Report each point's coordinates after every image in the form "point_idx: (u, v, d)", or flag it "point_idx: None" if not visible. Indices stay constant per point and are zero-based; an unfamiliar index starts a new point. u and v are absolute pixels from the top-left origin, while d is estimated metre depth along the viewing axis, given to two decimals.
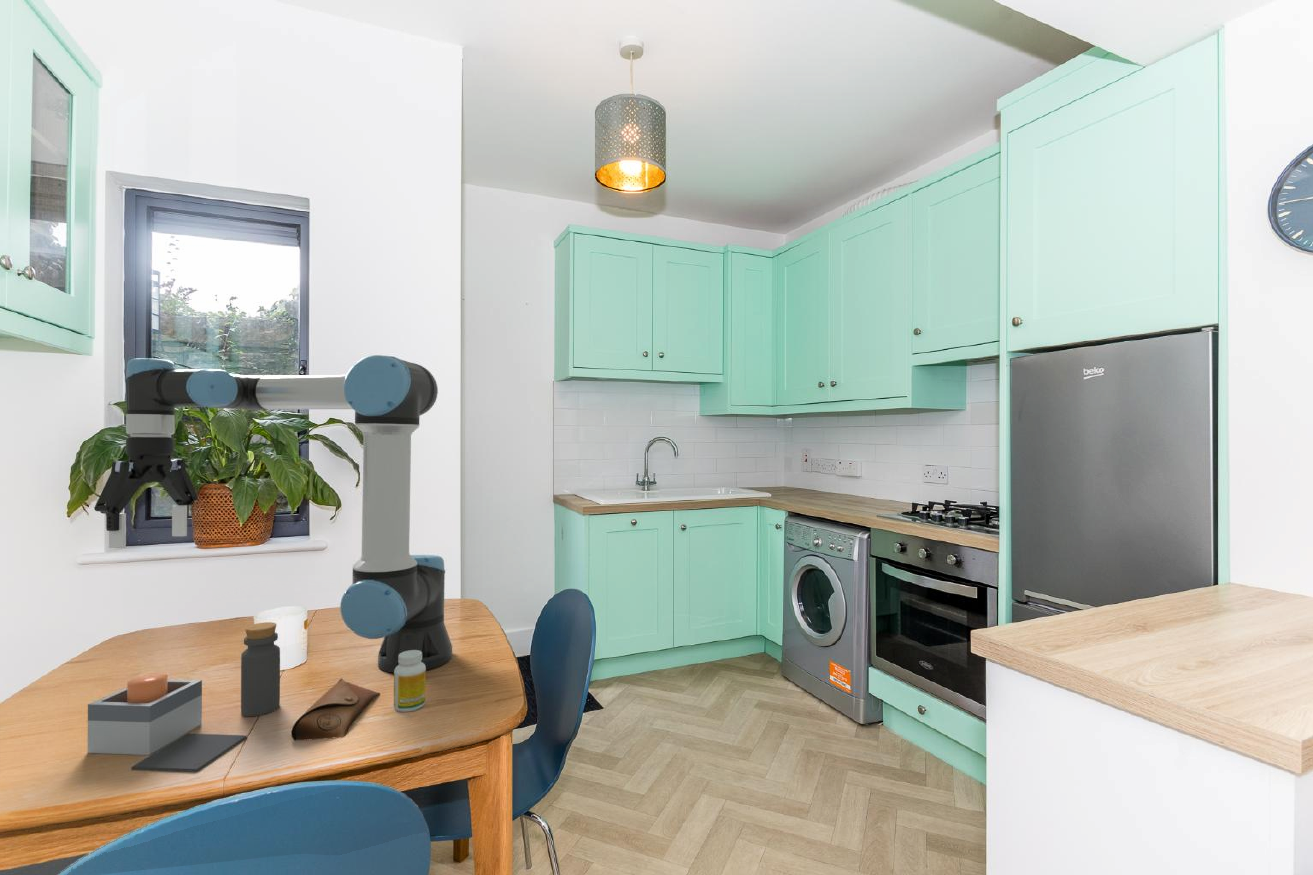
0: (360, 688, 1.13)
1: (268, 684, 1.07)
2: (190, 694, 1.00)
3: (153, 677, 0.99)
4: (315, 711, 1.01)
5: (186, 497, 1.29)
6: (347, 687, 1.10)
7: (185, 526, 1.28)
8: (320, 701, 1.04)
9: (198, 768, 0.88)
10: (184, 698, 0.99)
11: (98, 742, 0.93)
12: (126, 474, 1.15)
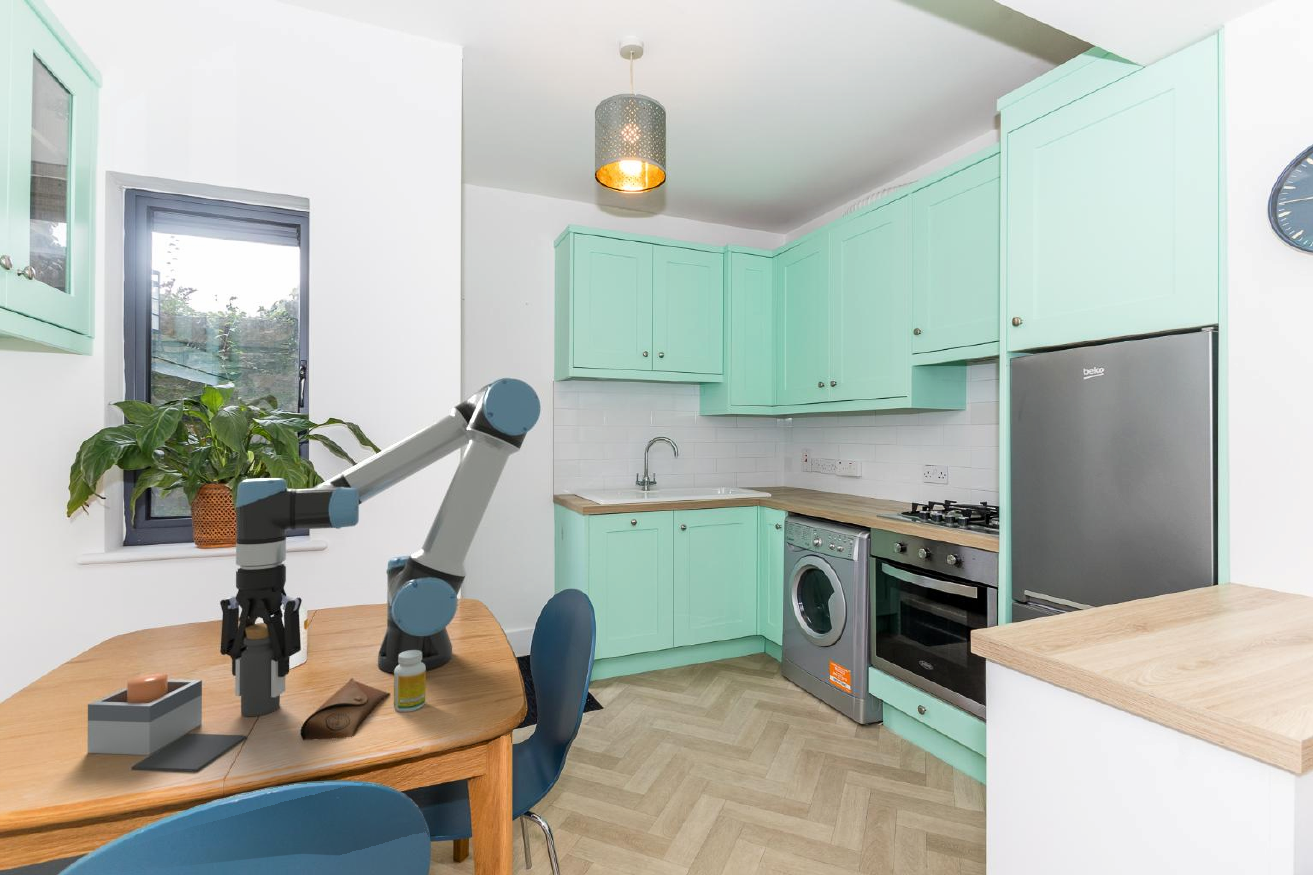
0: (370, 688, 1.13)
1: (268, 684, 1.07)
2: (190, 694, 1.00)
3: (153, 677, 0.99)
4: (324, 711, 1.01)
5: (278, 650, 1.07)
6: (357, 687, 1.10)
7: (273, 685, 1.07)
8: (330, 701, 1.04)
9: (198, 768, 0.88)
10: (184, 698, 0.99)
11: (98, 742, 0.93)
12: (227, 613, 1.07)
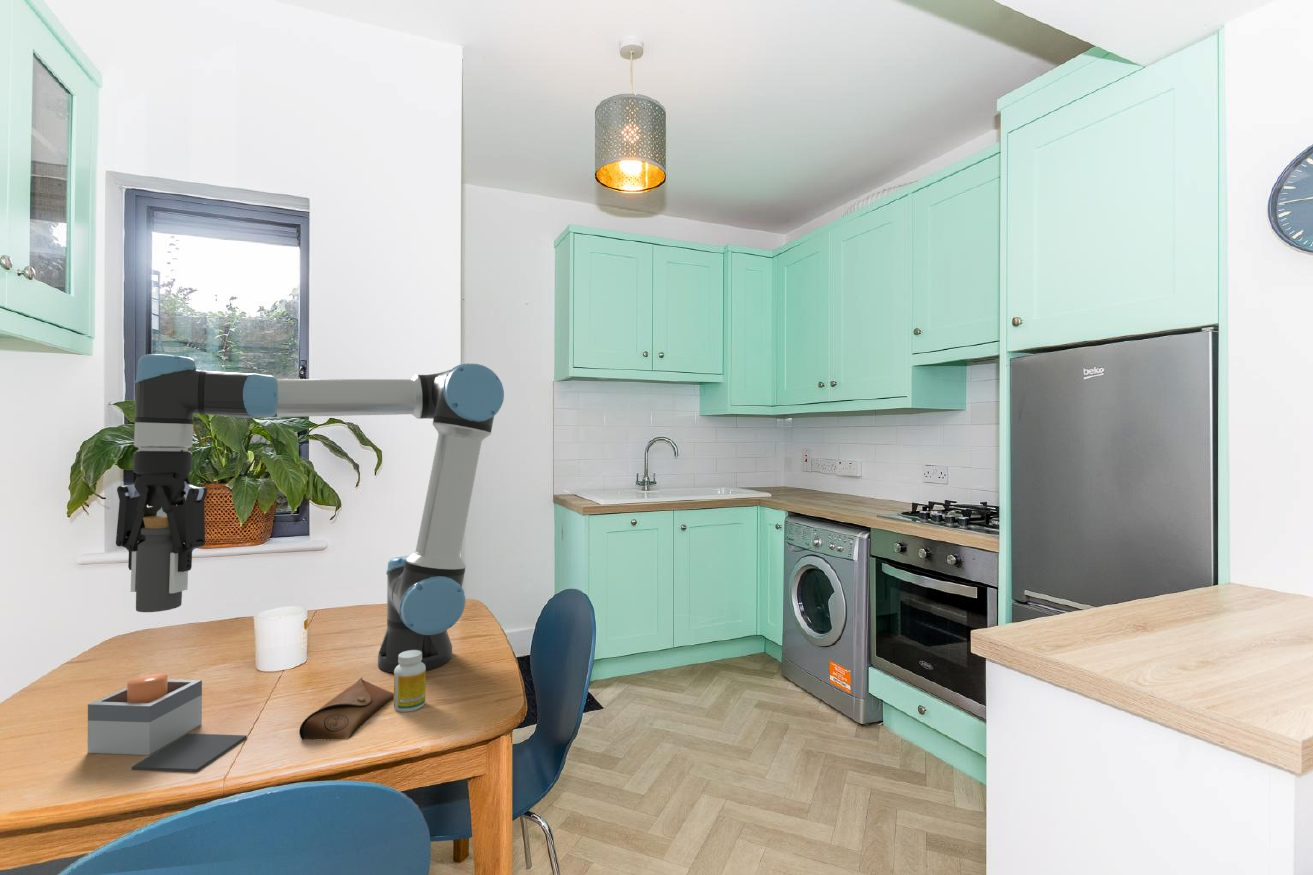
0: (378, 689, 1.13)
1: (166, 578, 0.97)
2: (190, 694, 1.00)
3: (153, 677, 0.99)
4: (325, 711, 1.01)
5: (178, 541, 0.98)
6: (363, 687, 1.10)
7: (171, 580, 0.97)
8: (332, 701, 1.04)
9: (198, 768, 0.88)
10: (184, 698, 0.99)
11: (98, 742, 0.93)
12: (124, 500, 0.98)
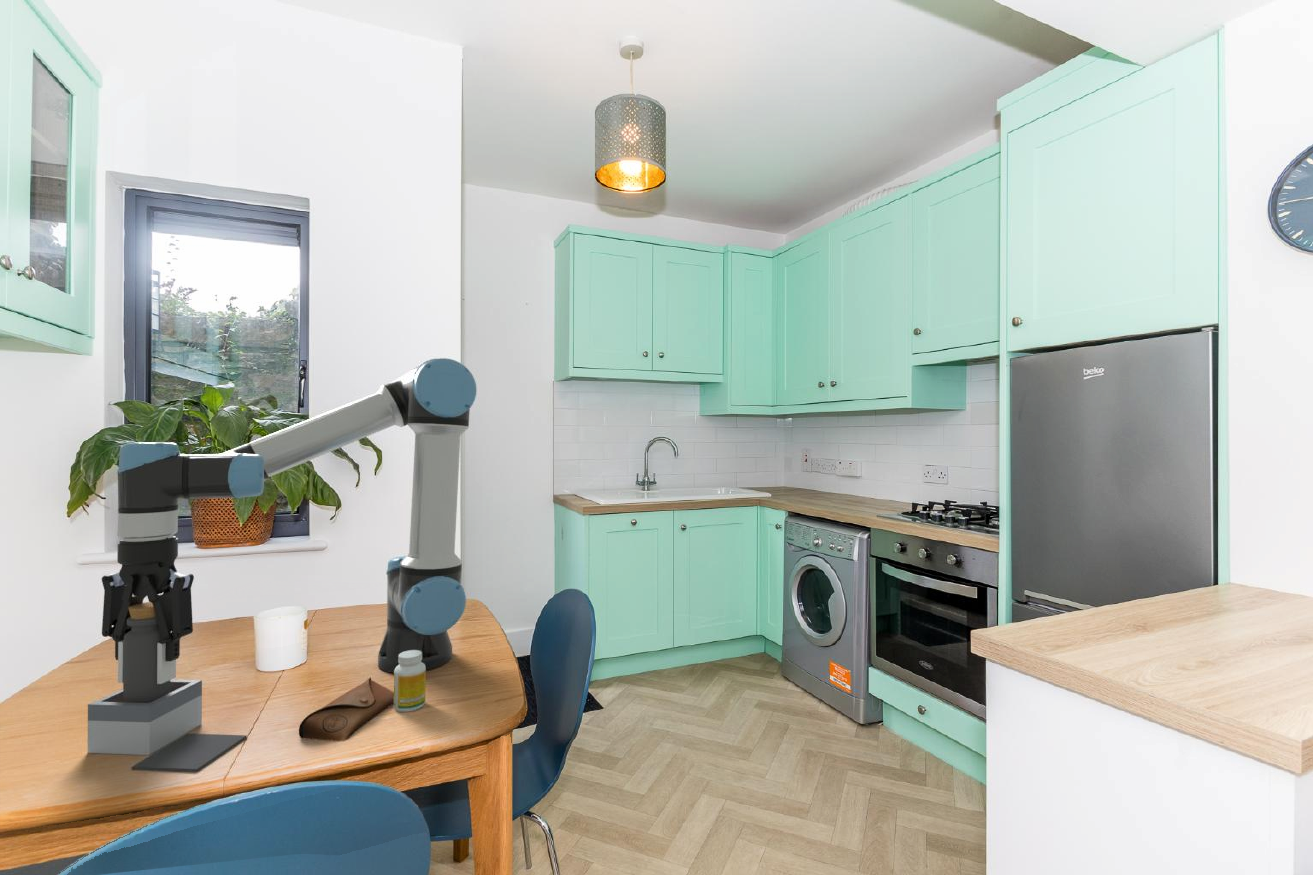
0: (384, 690, 1.12)
1: (153, 668, 0.96)
2: (190, 694, 1.00)
3: None
4: (325, 711, 1.01)
5: (165, 631, 0.97)
6: (368, 687, 1.10)
7: (159, 670, 0.96)
8: (335, 700, 1.04)
9: (198, 768, 0.88)
10: (184, 698, 0.99)
11: (98, 742, 0.93)
12: (109, 590, 0.97)
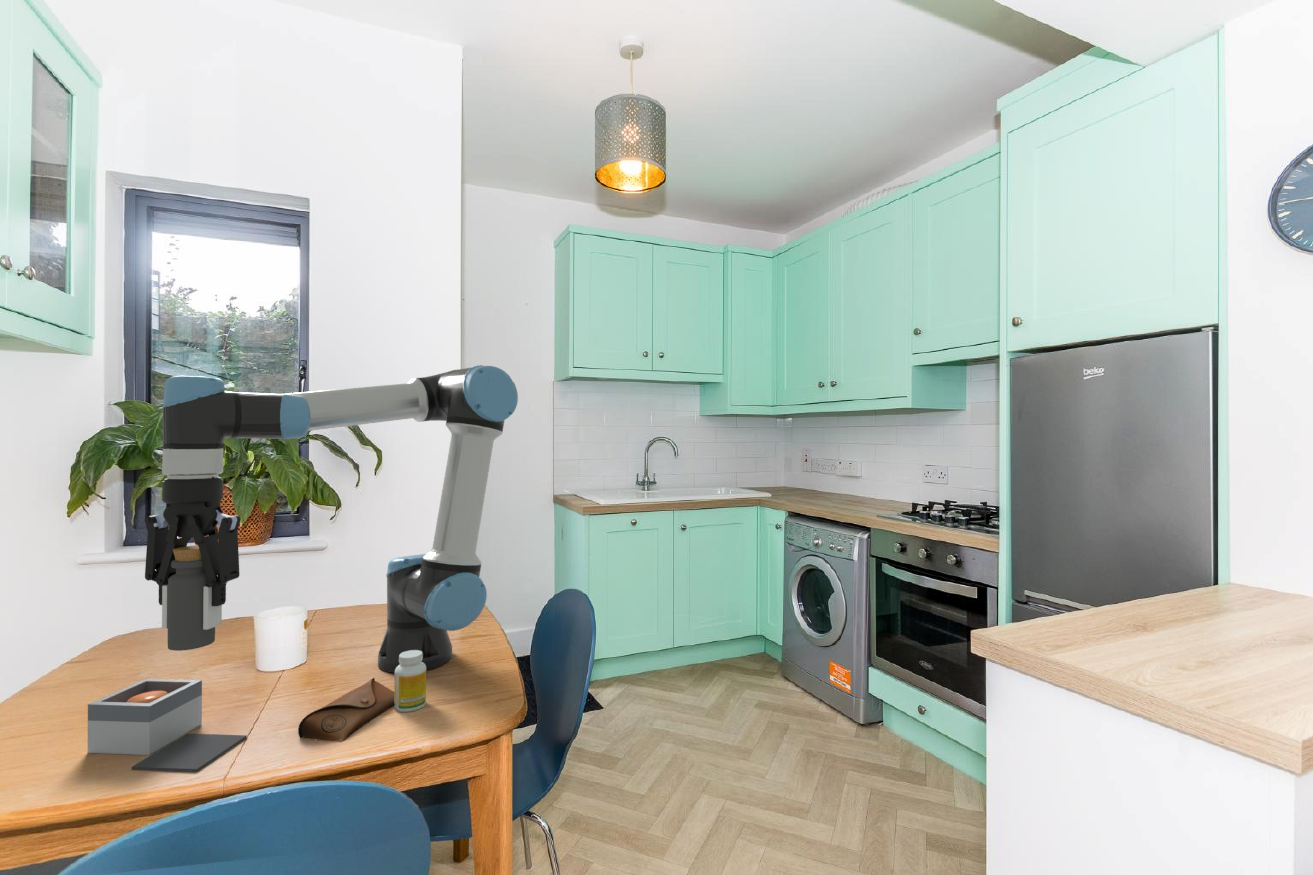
0: (386, 690, 1.12)
1: (199, 613, 0.92)
2: (190, 694, 1.00)
3: (153, 695, 0.99)
4: (325, 710, 1.01)
5: (211, 574, 0.92)
6: (370, 688, 1.09)
7: (205, 616, 0.92)
8: (335, 700, 1.04)
9: (198, 768, 0.88)
10: (184, 698, 0.99)
11: (98, 742, 0.93)
12: (153, 531, 0.92)
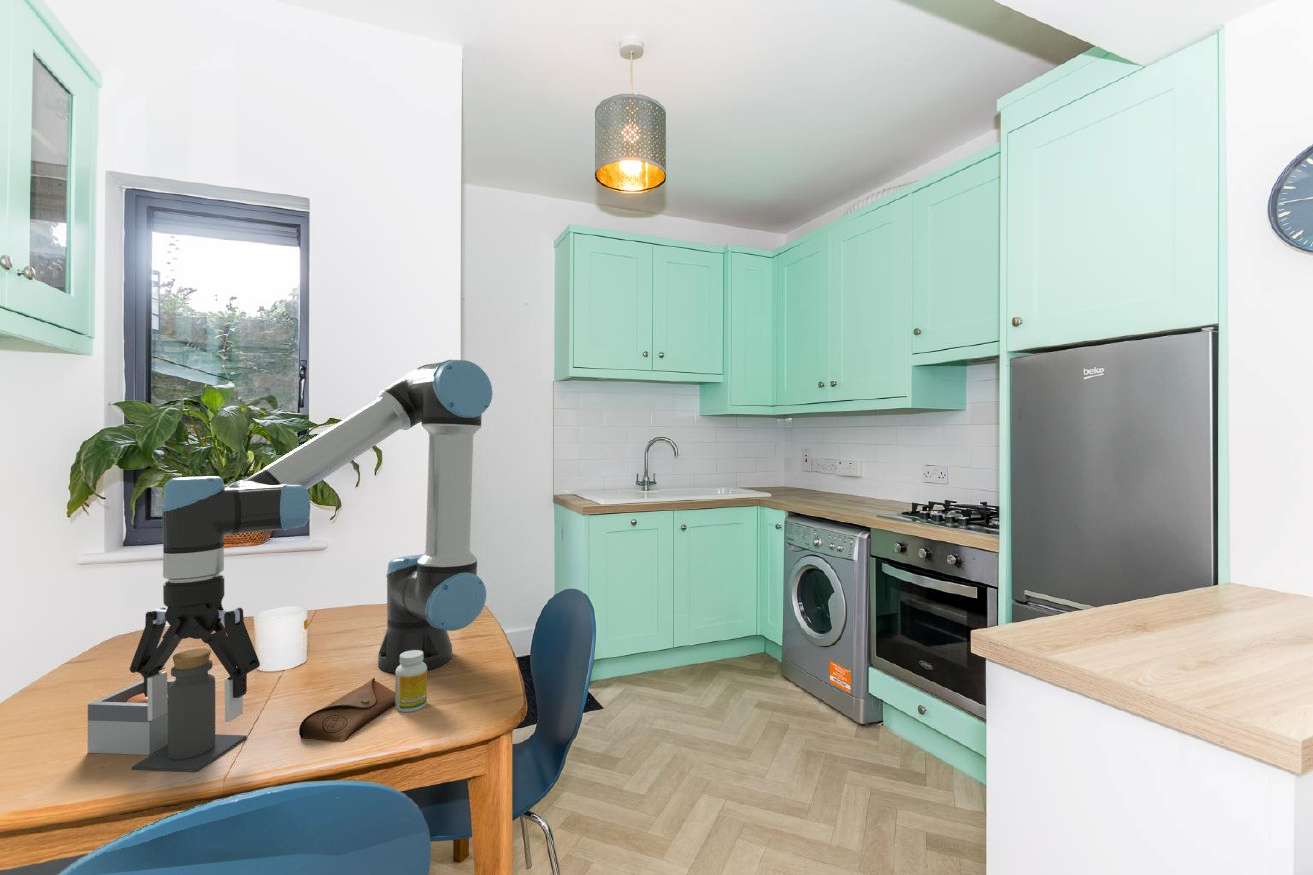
0: (387, 690, 1.12)
1: (199, 721, 0.92)
2: None
3: None
4: (326, 711, 1.01)
5: (230, 667, 0.92)
6: (370, 688, 1.09)
7: (227, 708, 0.92)
8: (336, 701, 1.04)
9: (198, 768, 0.88)
10: None
11: (98, 742, 0.93)
12: (150, 628, 0.92)
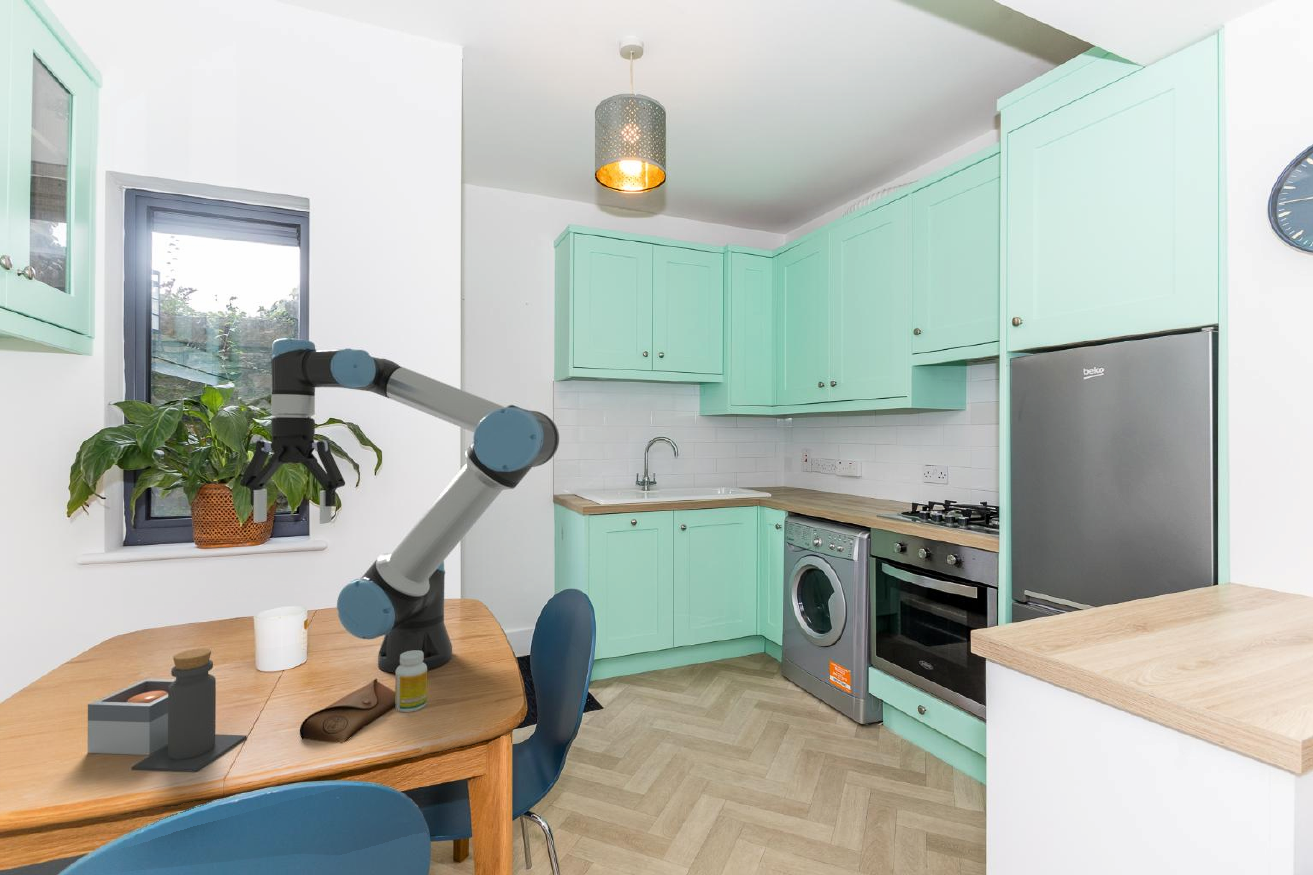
0: (389, 691, 1.12)
1: (200, 721, 0.92)
2: None
3: (153, 695, 0.99)
4: (327, 711, 1.01)
5: (324, 482, 1.20)
6: (372, 689, 1.09)
7: (321, 513, 1.20)
8: (337, 701, 1.04)
9: (198, 768, 0.88)
10: None
11: (98, 742, 0.93)
12: (259, 453, 1.21)
